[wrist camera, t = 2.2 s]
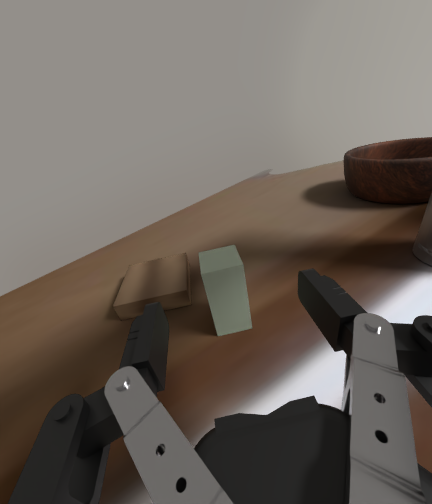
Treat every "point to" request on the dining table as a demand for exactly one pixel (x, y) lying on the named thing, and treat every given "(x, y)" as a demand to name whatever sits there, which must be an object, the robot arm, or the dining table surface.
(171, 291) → the base slab
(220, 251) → the pillar
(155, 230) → the dining table surface
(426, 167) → the wooden bowl
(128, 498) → the dining table surface
